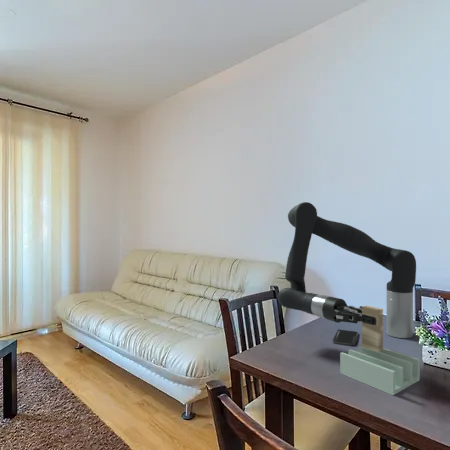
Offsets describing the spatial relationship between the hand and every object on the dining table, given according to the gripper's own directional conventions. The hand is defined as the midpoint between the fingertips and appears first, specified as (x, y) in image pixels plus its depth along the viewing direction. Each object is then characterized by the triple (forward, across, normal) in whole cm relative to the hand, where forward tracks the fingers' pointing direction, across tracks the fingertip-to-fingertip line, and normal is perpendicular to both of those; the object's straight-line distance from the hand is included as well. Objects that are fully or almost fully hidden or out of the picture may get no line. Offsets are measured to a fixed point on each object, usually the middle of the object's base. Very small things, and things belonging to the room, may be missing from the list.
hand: (378, 320), depth 100 cm
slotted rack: (0, 0, +16) cm, 16 cm away
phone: (-25, +20, +17) cm, 36 cm away
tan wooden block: (-2, 0, +9) cm, 9 cm away
